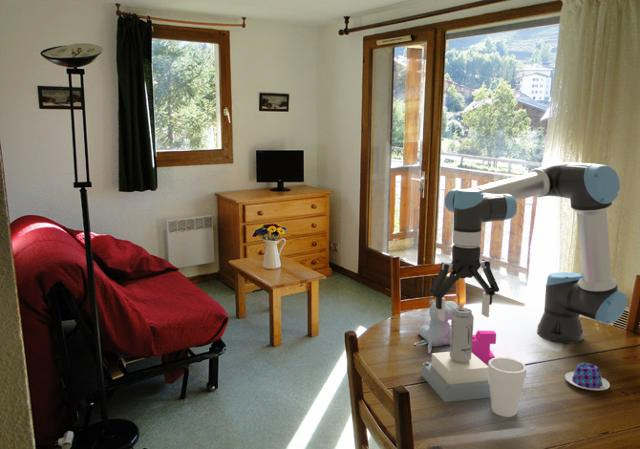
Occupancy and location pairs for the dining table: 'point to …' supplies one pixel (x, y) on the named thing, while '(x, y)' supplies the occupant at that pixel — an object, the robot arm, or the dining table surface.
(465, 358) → the energy drink can
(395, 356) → the dining table surface
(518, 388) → the foam cup
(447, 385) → the cream and grey box
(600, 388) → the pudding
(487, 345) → the bracket
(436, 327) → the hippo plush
